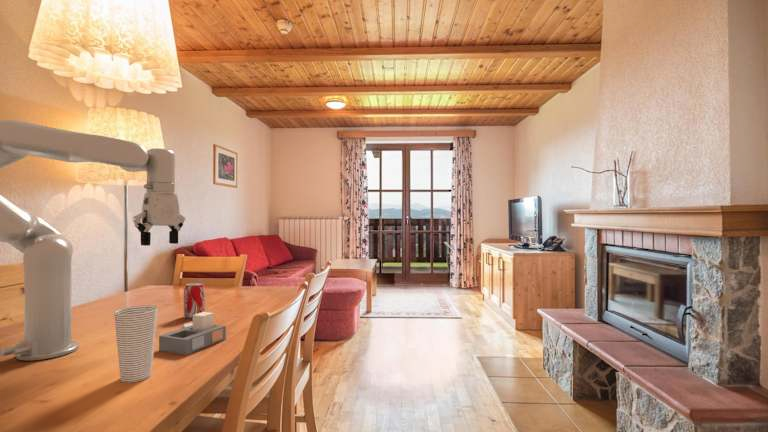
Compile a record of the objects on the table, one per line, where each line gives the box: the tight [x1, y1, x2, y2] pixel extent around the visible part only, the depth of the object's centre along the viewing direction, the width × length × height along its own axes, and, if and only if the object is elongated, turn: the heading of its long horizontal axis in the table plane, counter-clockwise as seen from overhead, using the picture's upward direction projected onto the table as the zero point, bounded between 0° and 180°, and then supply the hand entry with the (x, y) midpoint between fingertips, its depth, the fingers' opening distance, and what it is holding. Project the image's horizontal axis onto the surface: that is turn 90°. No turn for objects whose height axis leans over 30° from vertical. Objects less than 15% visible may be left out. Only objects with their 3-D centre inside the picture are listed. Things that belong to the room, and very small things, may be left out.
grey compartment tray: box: [158, 323, 227, 356], centre depth 111 cm, size 14×10×4 cm
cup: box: [113, 305, 159, 383], centre depth 88 cm, size 8×8×16 cm
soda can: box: [183, 282, 206, 319], centre depth 142 cm, size 7×7×12 cm
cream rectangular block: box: [192, 311, 215, 331], centre depth 114 cm, size 4×4×8 cm
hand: (160, 244), depth 120 cm, fingers open, 9 cm apart
